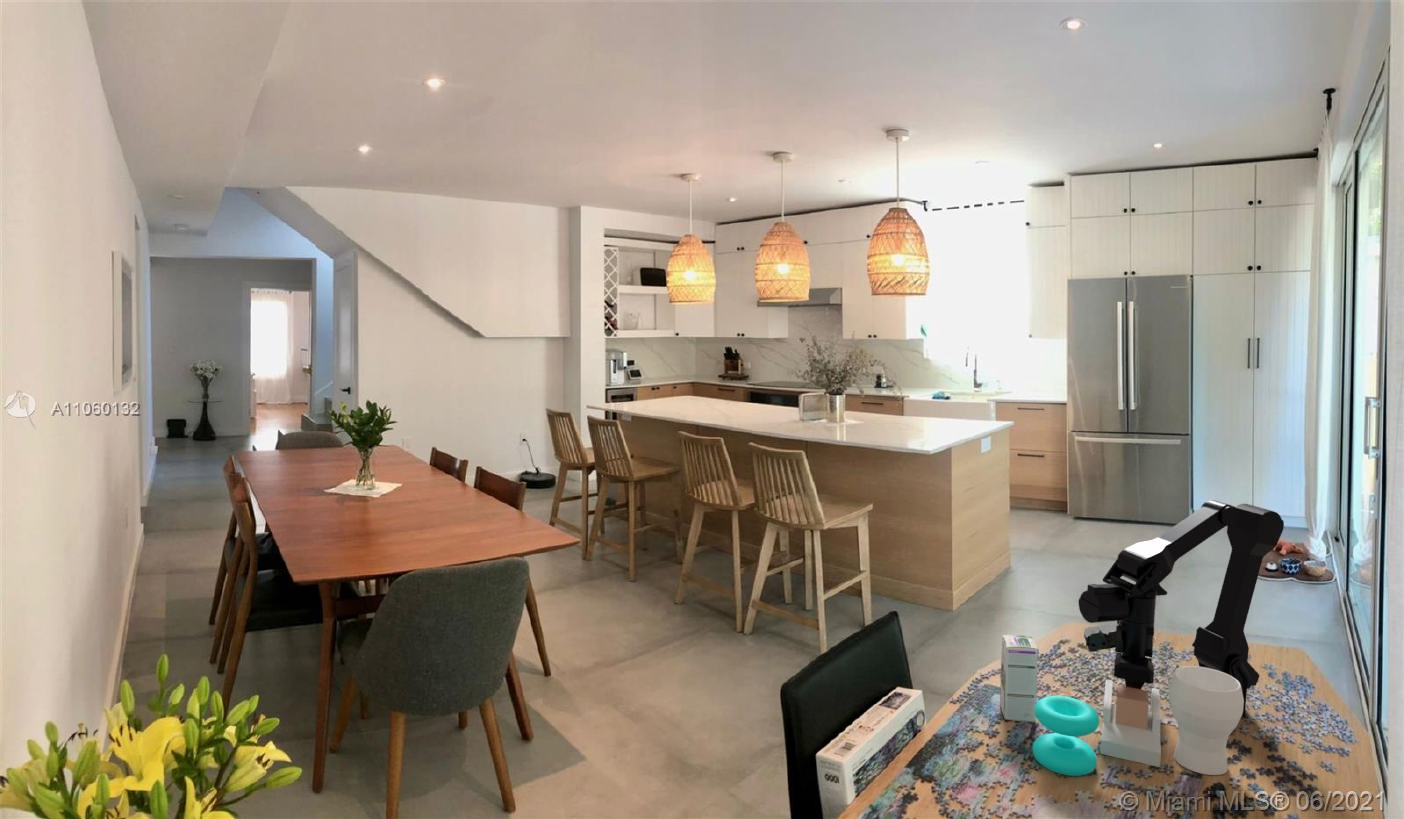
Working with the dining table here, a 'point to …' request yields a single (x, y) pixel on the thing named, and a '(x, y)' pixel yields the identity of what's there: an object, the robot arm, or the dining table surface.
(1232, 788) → the dining table surface
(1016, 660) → the syrup box
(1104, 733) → the grey channel
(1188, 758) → the cup
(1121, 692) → the terracotta cube
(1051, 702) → the donuts
